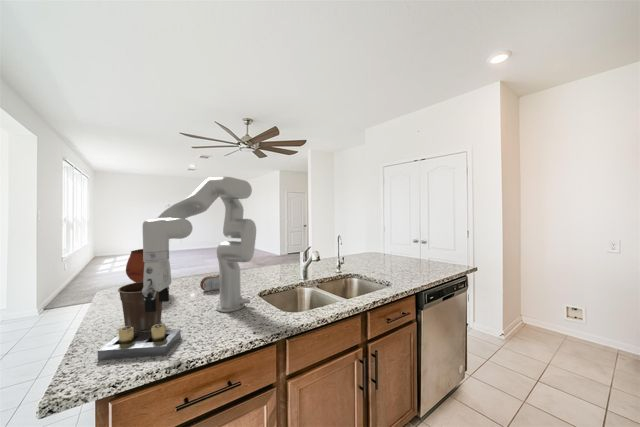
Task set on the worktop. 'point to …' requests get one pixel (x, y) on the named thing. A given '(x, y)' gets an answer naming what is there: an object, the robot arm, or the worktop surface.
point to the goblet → (135, 266)
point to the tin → (210, 283)
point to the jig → (137, 344)
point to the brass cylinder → (158, 333)
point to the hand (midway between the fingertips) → (157, 306)
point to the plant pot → (138, 307)
